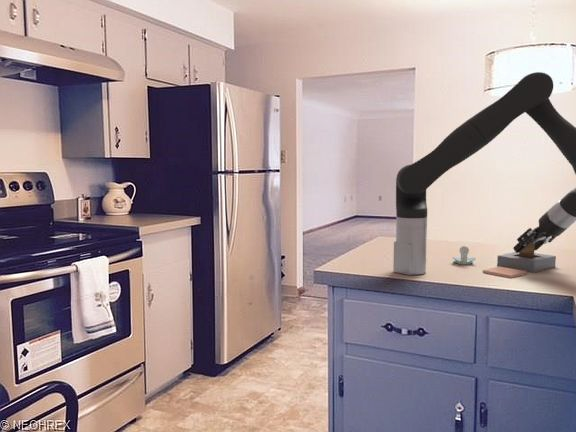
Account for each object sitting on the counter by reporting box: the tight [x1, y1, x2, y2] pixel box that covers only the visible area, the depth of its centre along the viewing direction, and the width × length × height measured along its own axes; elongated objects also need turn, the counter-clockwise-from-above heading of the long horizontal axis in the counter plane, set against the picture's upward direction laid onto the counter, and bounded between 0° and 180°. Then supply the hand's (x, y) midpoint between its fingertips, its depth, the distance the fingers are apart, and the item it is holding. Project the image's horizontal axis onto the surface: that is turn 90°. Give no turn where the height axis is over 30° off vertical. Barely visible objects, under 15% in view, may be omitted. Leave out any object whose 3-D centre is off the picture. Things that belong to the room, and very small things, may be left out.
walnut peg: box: [519, 234, 536, 258], centre depth 159 cm, size 4×4×10 cm
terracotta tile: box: [482, 266, 528, 279], centre depth 150 cm, size 9×9×1 cm
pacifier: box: [452, 245, 477, 265], centre depth 165 cm, size 7×6×6 cm
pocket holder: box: [496, 251, 557, 273], centre depth 159 cm, size 14×12×4 cm
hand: (524, 249), depth 160 cm, fingers open, 8 cm apart
